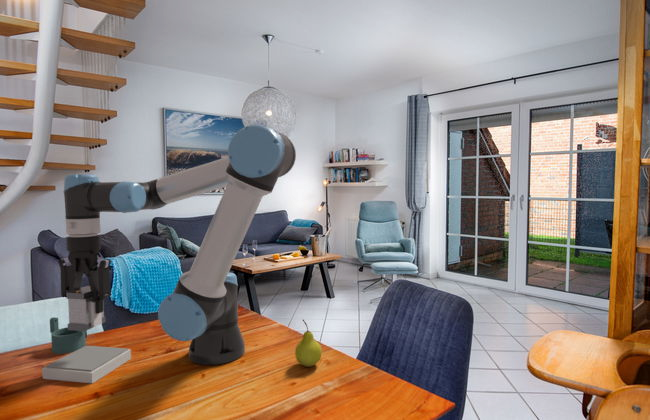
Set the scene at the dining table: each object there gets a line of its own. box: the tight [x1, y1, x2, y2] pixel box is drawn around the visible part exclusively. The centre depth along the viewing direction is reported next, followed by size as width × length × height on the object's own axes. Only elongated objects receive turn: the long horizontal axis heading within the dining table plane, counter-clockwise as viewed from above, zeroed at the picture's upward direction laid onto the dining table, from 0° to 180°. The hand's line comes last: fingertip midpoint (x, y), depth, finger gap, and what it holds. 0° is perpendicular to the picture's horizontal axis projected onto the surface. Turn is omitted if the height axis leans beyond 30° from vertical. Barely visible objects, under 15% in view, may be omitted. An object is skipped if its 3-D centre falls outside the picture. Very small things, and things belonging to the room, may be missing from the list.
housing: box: [65, 285, 107, 332], centre depth 103 cm, size 7×5×10 cm
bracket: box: [49, 317, 88, 355], centre depth 117 cm, size 9×9×9 cm
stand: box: [41, 345, 132, 384], centre depth 103 cm, size 14×14×3 cm
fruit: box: [294, 319, 323, 368], centre depth 104 cm, size 7×7×12 cm
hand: (86, 324), depth 103 cm, fingers closed on housing, 5 cm apart
